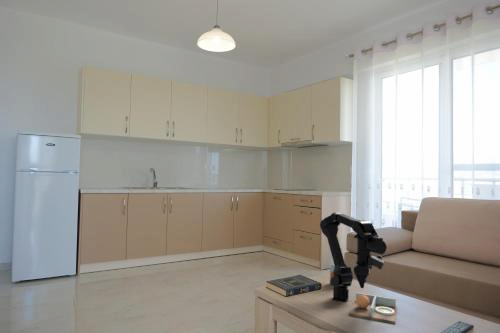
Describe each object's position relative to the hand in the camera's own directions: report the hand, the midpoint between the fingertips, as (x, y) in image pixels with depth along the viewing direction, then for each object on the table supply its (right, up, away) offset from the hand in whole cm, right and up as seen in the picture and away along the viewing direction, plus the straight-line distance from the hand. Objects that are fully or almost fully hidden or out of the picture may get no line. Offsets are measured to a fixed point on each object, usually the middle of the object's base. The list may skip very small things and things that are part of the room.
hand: (363, 285), depth 150 cm
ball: (0, -7, 0) cm, 7 cm away
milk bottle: (-3, -12, +36) cm, 38 cm away
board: (+4, -11, -2) cm, 12 cm away
